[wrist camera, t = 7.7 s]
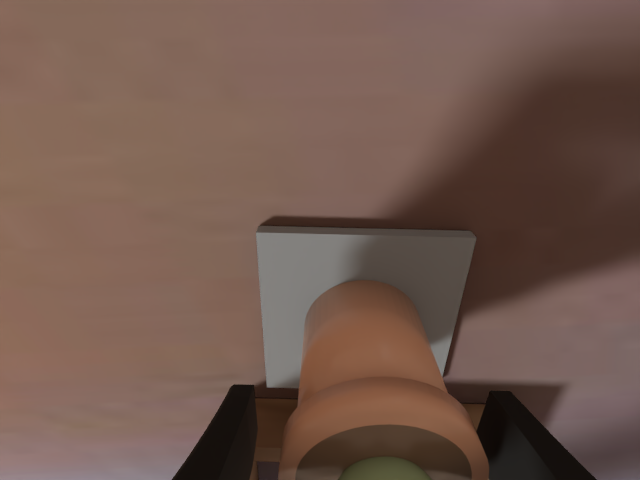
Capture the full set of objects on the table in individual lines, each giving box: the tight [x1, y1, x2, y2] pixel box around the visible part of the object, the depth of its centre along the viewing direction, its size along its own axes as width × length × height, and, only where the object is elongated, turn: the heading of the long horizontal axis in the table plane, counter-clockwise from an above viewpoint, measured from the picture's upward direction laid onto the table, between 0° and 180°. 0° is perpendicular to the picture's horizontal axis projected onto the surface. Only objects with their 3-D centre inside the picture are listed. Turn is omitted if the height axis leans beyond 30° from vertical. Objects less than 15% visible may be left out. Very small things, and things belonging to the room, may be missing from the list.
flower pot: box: [278, 280, 489, 480], centre depth 11 cm, size 6×6×8 cm
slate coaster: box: [256, 226, 477, 388], centre depth 15 cm, size 8×8×1 cm
